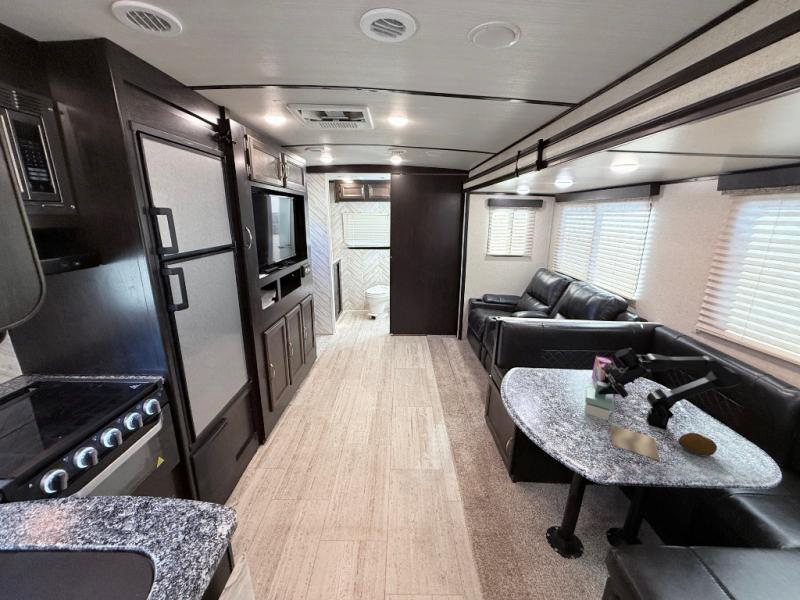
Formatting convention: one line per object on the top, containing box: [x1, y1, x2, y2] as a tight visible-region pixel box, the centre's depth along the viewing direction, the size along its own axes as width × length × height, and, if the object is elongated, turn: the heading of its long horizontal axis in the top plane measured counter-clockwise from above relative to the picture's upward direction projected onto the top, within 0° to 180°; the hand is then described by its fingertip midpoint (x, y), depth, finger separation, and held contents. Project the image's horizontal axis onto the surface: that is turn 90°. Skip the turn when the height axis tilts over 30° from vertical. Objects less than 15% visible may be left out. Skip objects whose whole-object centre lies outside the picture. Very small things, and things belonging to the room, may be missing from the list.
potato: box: [677, 432, 718, 457], centre depth 121 cm, size 8×12×8 cm, turn 87°
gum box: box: [591, 355, 617, 399], centre depth 166 cm, size 24×8×14 cm, turn 155°
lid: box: [584, 381, 615, 411], centre depth 143 cm, size 11×11×8 cm
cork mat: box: [610, 424, 661, 462], centre depth 126 cm, size 15×15×1 cm
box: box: [584, 402, 611, 421], centre depth 145 cm, size 9×9×4 cm
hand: (597, 390), depth 143 cm, fingers closed on lid, 5 cm apart
